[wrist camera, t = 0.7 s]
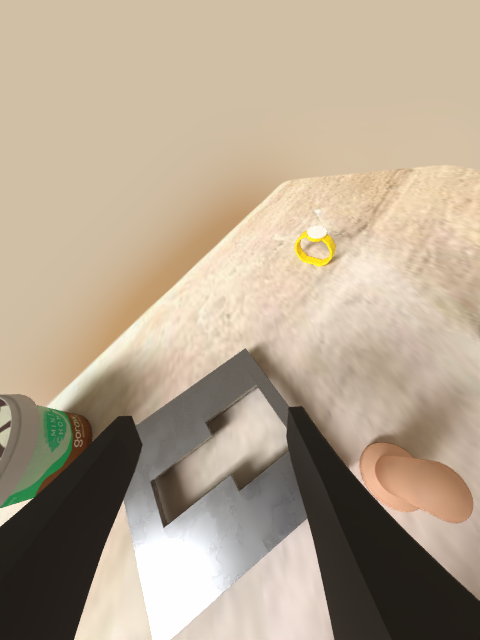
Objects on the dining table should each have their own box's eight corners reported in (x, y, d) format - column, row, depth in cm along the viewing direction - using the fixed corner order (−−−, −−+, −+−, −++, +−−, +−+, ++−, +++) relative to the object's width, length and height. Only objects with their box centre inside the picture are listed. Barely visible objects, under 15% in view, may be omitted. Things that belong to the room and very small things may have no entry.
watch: (332, 261, 34) (343, 231, 29) (325, 273, 33) (335, 244, 28) (298, 250, 36) (302, 220, 31) (291, 261, 35) (294, 232, 30)
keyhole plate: (340, 479, 20) (346, 483, 18) (172, 626, 17) (155, 652, 15) (248, 355, 28) (245, 348, 26) (126, 443, 26) (111, 443, 24)
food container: (116, 452, 26) (30, 457, 17) (73, 498, 24) (-44, 527, 16) (81, 387, 32) (5, 367, 23) (45, 420, 30) (-51, 412, 22)
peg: (435, 484, 18) (517, 508, 12) (395, 523, 18) (458, 571, 11) (384, 431, 21) (428, 426, 14) (348, 463, 20) (376, 473, 14)
